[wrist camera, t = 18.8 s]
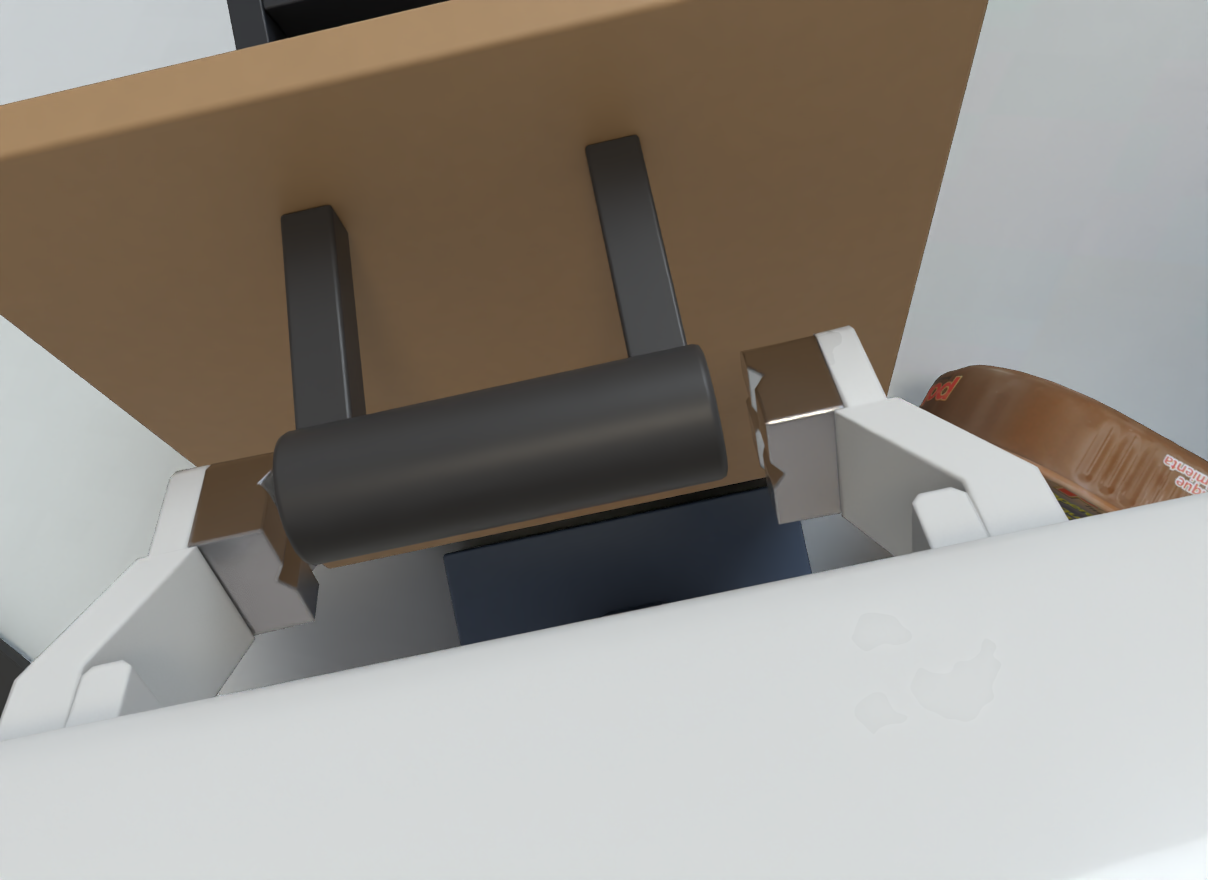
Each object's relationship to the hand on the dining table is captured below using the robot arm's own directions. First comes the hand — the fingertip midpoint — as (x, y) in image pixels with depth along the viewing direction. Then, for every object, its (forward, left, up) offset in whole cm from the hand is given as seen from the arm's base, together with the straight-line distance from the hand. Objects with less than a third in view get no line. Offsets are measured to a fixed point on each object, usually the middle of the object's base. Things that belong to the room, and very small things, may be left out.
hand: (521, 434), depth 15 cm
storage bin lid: (0, -2, -5) cm, 5 cm away
